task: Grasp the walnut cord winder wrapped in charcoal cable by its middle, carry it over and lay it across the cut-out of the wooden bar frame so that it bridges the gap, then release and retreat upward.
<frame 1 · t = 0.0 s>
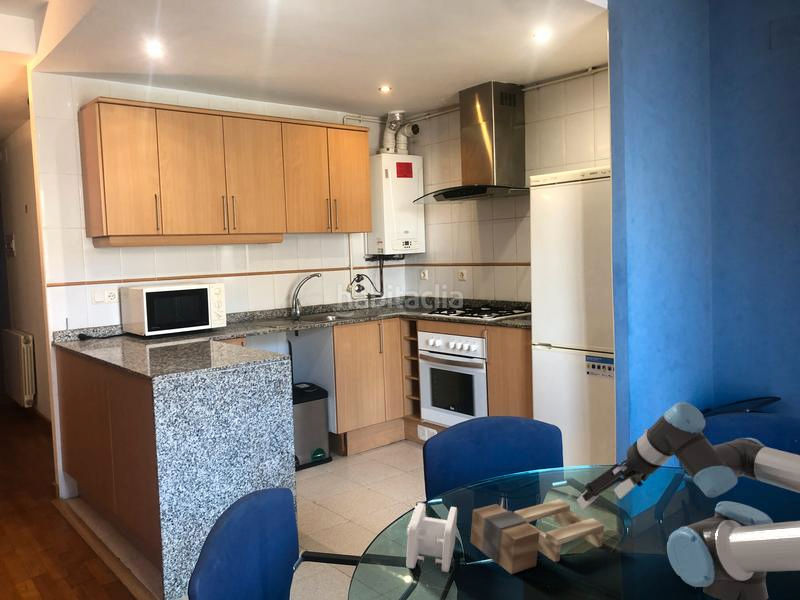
hand: (599, 499, 162), 15 cm above the table, tool tilted 35°, fingers open, 13 cm apart
cord winder: (502, 553, 162), on the table
wooden bar frame: (556, 539, 171), on the table
cable organizer: (430, 560, 158), on the table
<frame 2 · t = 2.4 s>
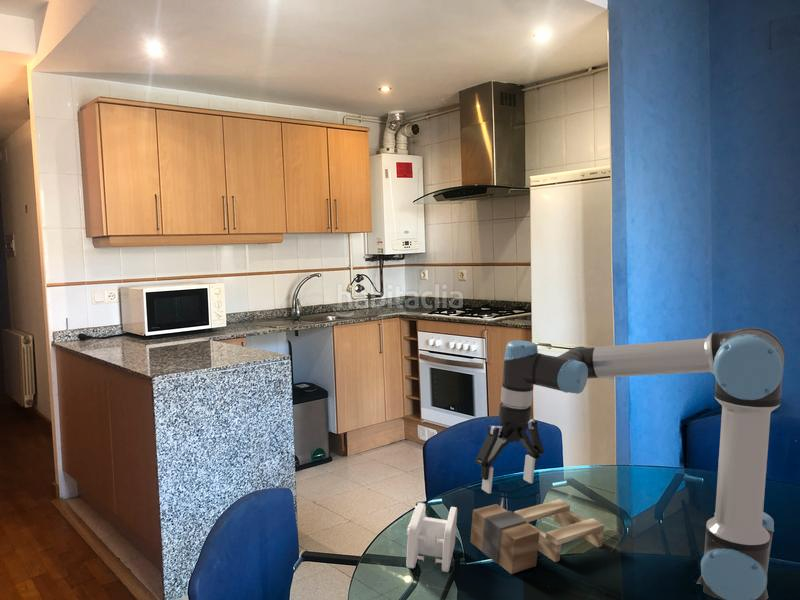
hand: (507, 486, 160), 18 cm above the table, tool pointing down, fingers open, 13 cm apart
nothing on the table moved.
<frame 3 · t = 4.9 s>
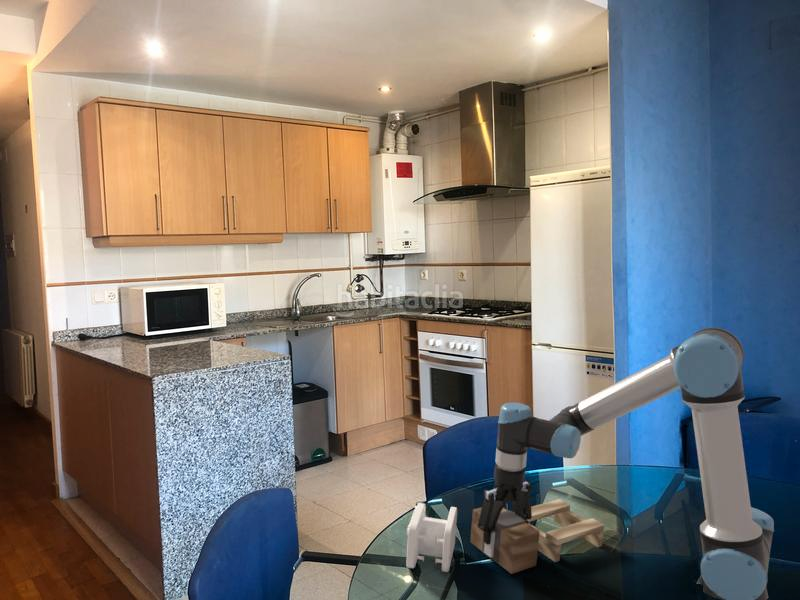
hand: (502, 550, 162), 1 cm above the table, tool pointing down, fingers closed on cord winder, 8 cm apart
cord winder: (502, 553, 162), on the table, touching gripper
everything else where it was.
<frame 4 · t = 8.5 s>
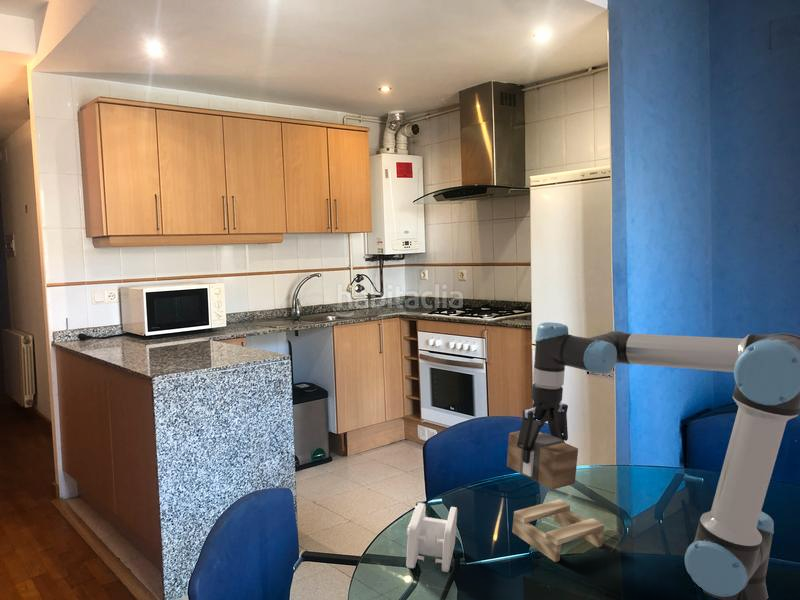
hand: (540, 471, 163), 21 cm above the table, tool pointing down, fingers closed on cord winder, 8 cm apart
cord winder: (539, 474, 164), point 20 cm above the table, touching gripper
everything else where it was.
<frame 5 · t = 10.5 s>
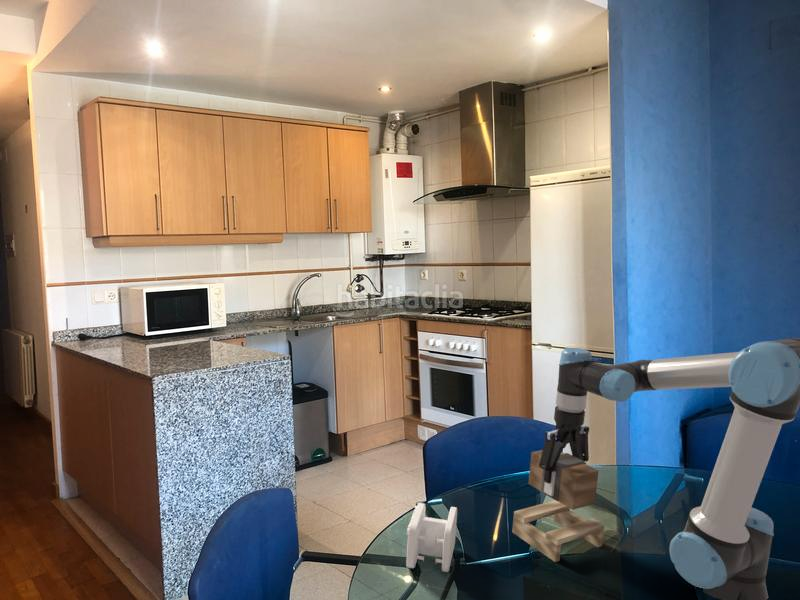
hand: (561, 490, 169), 14 cm above the table, tool pointing down, fingers closed on cord winder, 8 cm apart
cord winder: (560, 493, 169), point 13 cm above the table, touching gripper
everything else where it was.
when the fingers open (8 cm above the table, at t = 12.4 s): cord winder drops 1 cm, resting on wooden bar frame.
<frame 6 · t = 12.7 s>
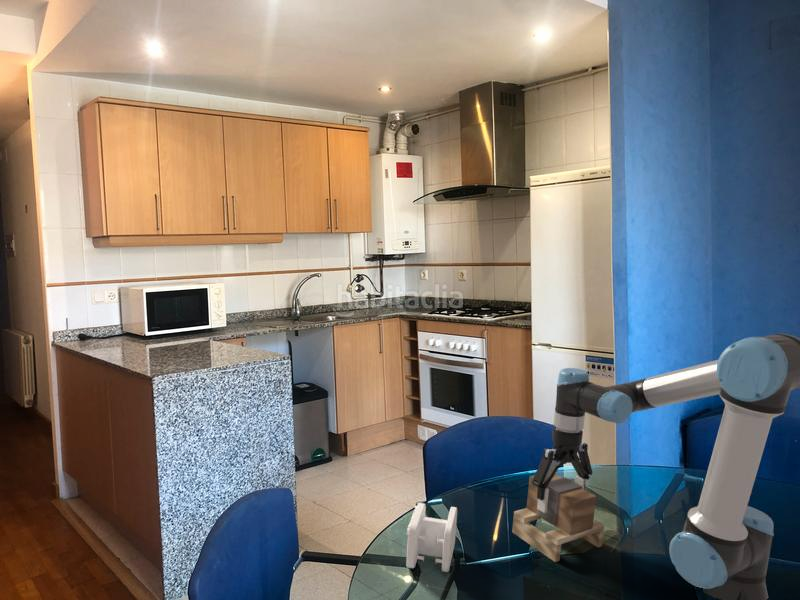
hand: (559, 505, 170), 10 cm above the table, tool pointing down, fingers open, 12 cm apart
cord winder: (558, 518, 170), point 6 cm above the table, touching wooden bar frame
everything else where it was.
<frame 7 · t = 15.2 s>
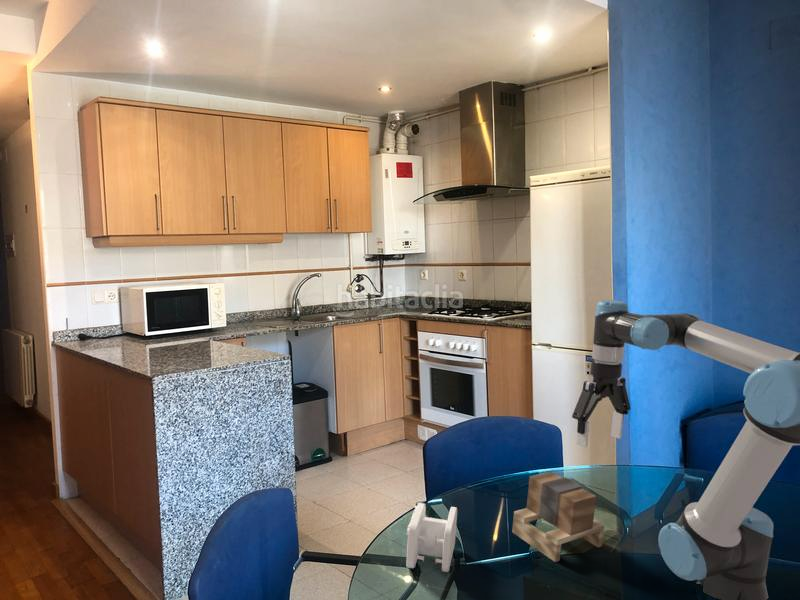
hand: (599, 441, 166), 28 cm above the table, tool pointing down, fingers open, 13 cm apart
nothing on the table moved.
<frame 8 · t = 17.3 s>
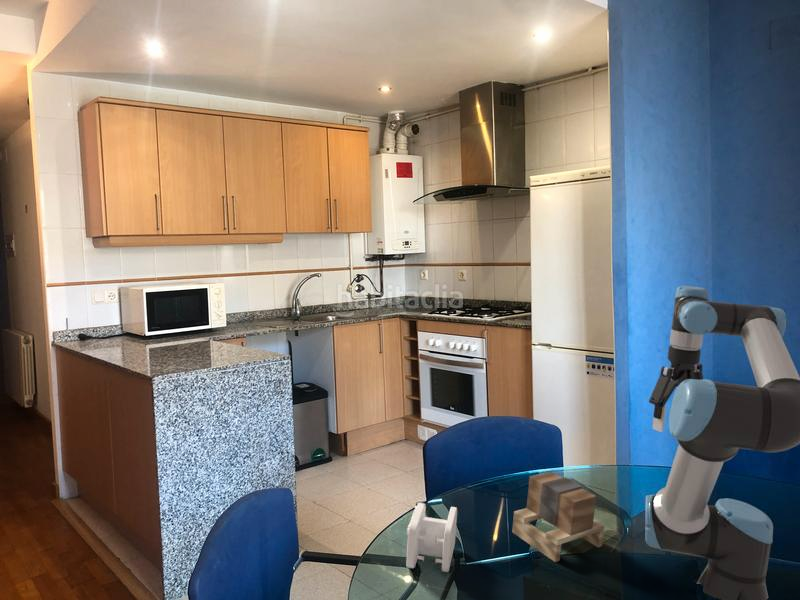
hand: (674, 426, 167), 33 cm above the table, tool pointing down, fingers open, 13 cm apart
nothing on the table moved.
at the end: cord winder inside the target area on the wooden bar frame (0.0 cm from its centre), point 6.0 cm above the wooden bar frame's base; cord winder tilted 0°; the gripper is holding nothing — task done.
